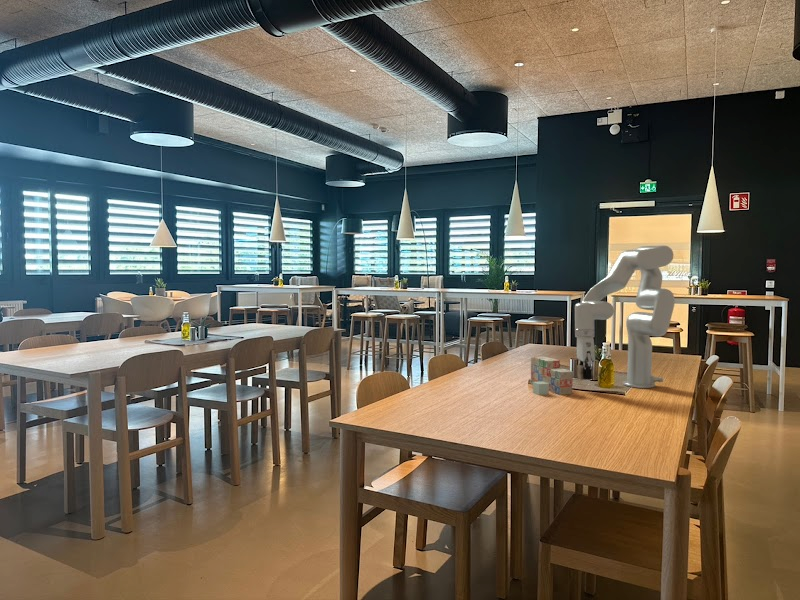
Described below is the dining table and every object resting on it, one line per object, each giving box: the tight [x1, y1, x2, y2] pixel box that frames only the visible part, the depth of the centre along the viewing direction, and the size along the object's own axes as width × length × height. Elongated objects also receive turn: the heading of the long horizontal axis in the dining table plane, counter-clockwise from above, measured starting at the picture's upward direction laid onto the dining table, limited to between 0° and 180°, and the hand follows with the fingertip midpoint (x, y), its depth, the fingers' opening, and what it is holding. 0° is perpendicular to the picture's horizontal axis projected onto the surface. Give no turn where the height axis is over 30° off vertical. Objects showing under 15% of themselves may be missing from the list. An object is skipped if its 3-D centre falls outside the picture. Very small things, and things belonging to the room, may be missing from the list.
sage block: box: [532, 381, 550, 396], centre depth 225 cm, size 4×4×4 cm
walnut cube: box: [576, 364, 594, 381], centre depth 230 cm, size 5×5×5 cm
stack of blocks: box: [530, 355, 574, 396], centre depth 234 cm, size 21×6×12 cm, turn 19°
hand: (585, 376), depth 230 cm, fingers closed on walnut cube, 5 cm apart
